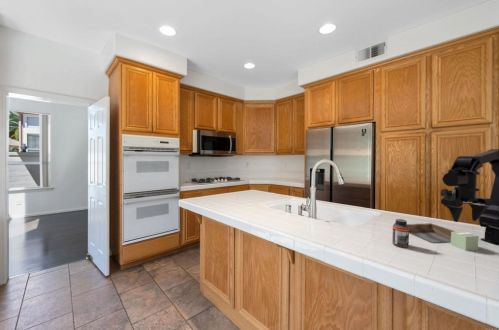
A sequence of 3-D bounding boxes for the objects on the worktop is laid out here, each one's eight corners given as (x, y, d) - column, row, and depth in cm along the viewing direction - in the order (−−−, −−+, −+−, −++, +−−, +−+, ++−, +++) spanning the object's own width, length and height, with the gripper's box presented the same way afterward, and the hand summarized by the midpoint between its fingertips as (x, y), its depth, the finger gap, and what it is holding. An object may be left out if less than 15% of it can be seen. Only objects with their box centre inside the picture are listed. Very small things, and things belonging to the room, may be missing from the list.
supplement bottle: (393, 241, 101) (393, 217, 100) (409, 245, 97) (410, 219, 97) (391, 245, 96) (392, 220, 96) (407, 249, 93) (409, 223, 92)
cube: (462, 244, 98) (463, 230, 98) (477, 250, 92) (478, 235, 92) (450, 244, 98) (451, 231, 97) (465, 250, 92) (466, 236, 91)
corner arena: (430, 230, 116) (430, 223, 115) (460, 241, 101) (460, 233, 101) (405, 231, 114) (405, 224, 114) (432, 243, 99) (432, 234, 99)
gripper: (465, 182, 103) (463, 215, 104) (429, 183, 101) (428, 216, 101) (494, 185, 92) (492, 222, 93) (455, 186, 90) (453, 224, 90)
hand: (465, 221), depth 95 cm, fingers open, 9 cm apart
